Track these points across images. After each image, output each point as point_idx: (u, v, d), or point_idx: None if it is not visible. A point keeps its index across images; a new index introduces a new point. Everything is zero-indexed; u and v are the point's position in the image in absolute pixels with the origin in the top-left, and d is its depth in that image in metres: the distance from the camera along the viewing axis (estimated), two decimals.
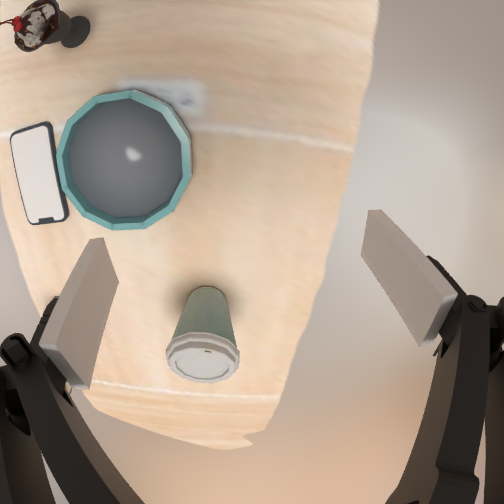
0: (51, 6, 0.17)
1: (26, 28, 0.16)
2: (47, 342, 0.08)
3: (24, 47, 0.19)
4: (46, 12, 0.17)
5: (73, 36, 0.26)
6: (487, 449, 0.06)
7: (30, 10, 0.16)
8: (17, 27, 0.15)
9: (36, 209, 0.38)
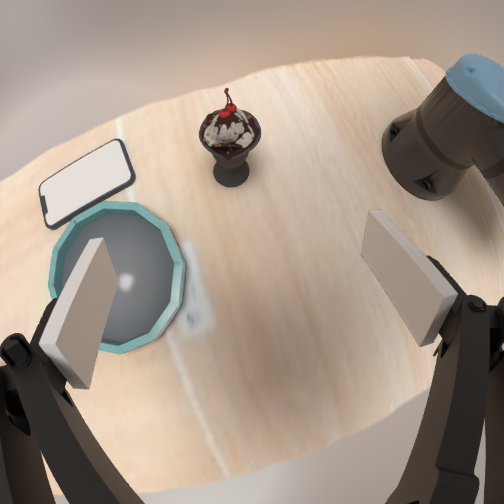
0: (251, 140, 0.30)
1: (223, 124, 0.28)
2: (47, 342, 0.08)
3: (203, 128, 0.31)
4: (243, 138, 0.30)
5: (225, 172, 0.39)
6: (487, 449, 0.06)
7: (244, 118, 0.29)
8: (223, 113, 0.27)
9: (52, 190, 0.37)
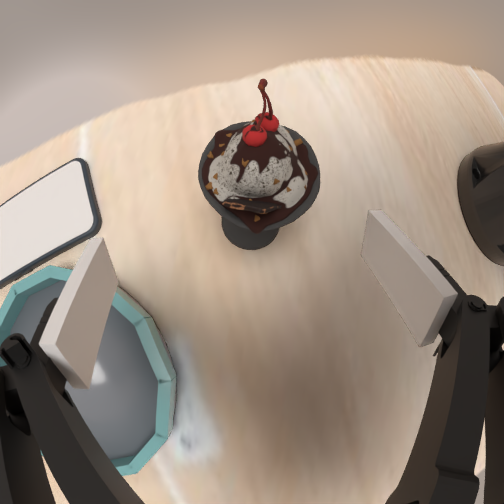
0: (303, 192, 0.16)
1: (251, 159, 0.13)
2: (47, 342, 0.08)
3: (207, 158, 0.16)
4: (288, 188, 0.15)
5: None
6: (487, 449, 0.06)
7: (292, 146, 0.15)
8: (252, 136, 0.13)
9: None
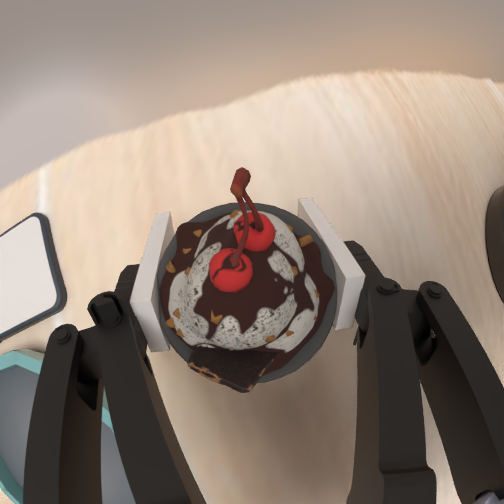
0: (311, 327, 0.10)
1: (226, 310, 0.08)
2: (140, 299, 0.09)
3: (167, 270, 0.11)
4: (289, 327, 0.10)
5: None
6: (444, 443, 0.06)
7: (296, 261, 0.10)
8: (225, 280, 0.07)
9: None
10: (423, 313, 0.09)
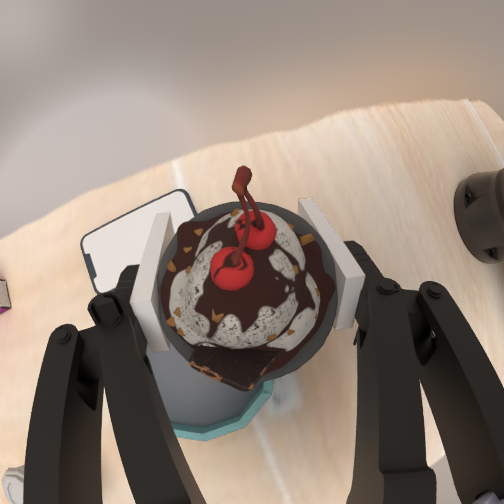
0: (312, 325, 0.10)
1: (227, 309, 0.08)
2: (140, 299, 0.09)
3: (168, 269, 0.11)
4: (291, 325, 0.10)
5: None
6: (444, 443, 0.06)
7: (297, 259, 0.10)
8: (226, 278, 0.07)
9: (99, 248, 0.34)
10: (423, 313, 0.09)
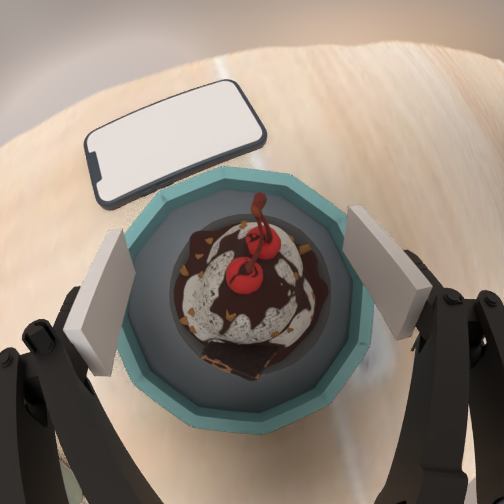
0: (308, 325, 0.12)
1: (239, 309, 0.09)
2: (72, 327, 0.08)
3: (181, 273, 0.12)
4: (290, 324, 0.11)
5: None
6: (476, 446, 0.06)
7: (297, 267, 0.11)
8: (241, 284, 0.09)
9: (111, 144, 0.24)
10: None
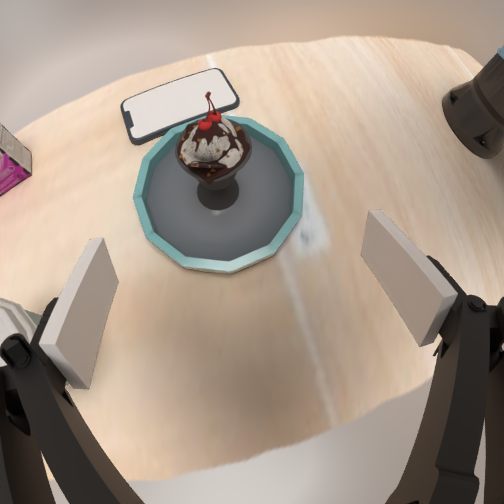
0: (238, 158, 0.24)
1: (203, 138, 0.22)
2: (47, 342, 0.08)
3: (181, 141, 0.25)
4: (228, 155, 0.24)
5: (210, 192, 0.33)
6: (487, 449, 0.06)
7: (231, 130, 0.24)
8: (202, 124, 0.21)
9: (139, 106, 0.36)
10: None
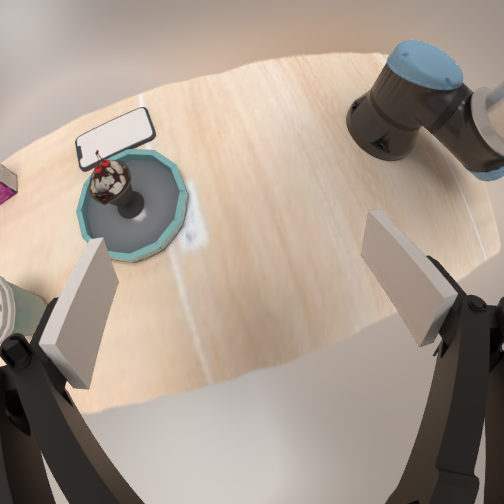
0: (121, 188, 0.37)
1: (97, 178, 0.35)
2: (47, 342, 0.08)
3: None
4: (114, 186, 0.36)
5: (124, 206, 0.46)
6: (487, 449, 0.06)
7: (116, 170, 0.36)
8: (96, 170, 0.34)
9: (87, 142, 0.49)
10: None
